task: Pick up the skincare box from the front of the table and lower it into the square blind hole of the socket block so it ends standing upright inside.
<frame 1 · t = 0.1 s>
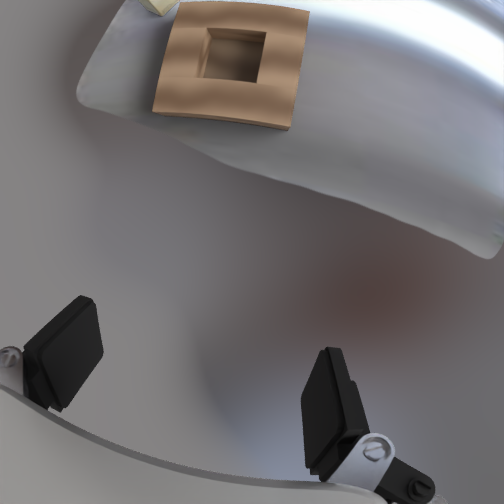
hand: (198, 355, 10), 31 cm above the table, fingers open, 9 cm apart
skincare box: (167, 1, 28), on the table
socket block: (235, 64, 32), on the table
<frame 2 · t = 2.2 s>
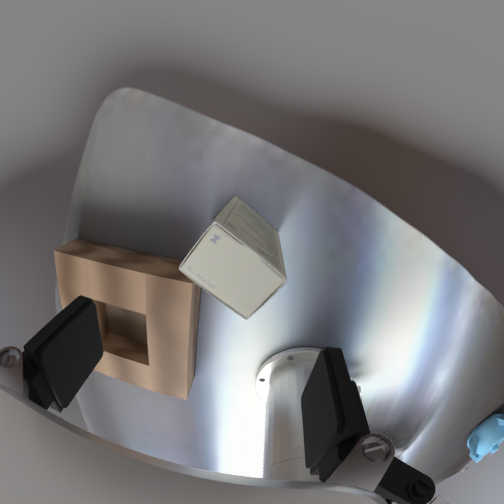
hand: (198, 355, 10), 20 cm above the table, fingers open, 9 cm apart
skincare box: (246, 227, 29), on the table
socket block: (134, 312, 34), on the table
teapot: (483, 425, 43), on the table
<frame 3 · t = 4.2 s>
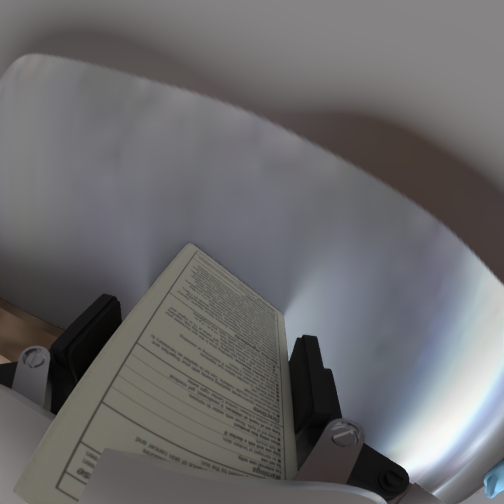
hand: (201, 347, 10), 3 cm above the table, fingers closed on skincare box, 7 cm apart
skincare box: (217, 305, 14), on the table, touching gripper
socket block: (71, 396, 19), on the table
teapot: (502, 461, 28), on the table
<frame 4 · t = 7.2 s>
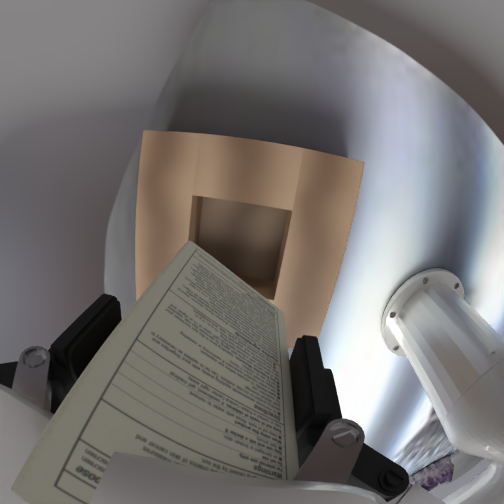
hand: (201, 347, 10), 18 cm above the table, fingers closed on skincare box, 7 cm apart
skincare box: (217, 303, 14), point 14 cm above the table, touching gripper
socket block: (241, 233, 27), on the table
geode: (421, 471, 48), on the table
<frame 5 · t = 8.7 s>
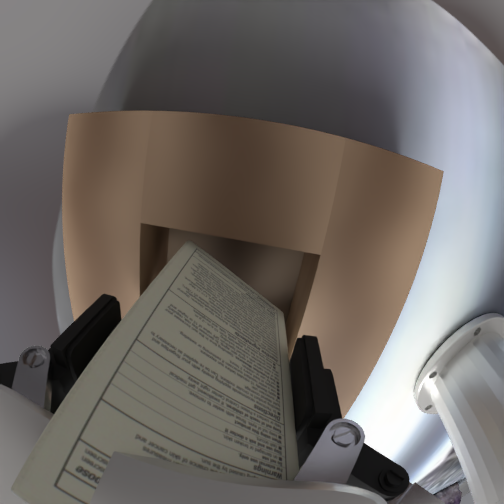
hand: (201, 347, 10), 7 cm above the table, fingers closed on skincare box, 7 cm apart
skincare box: (217, 303, 14), point 4 cm above the table, touching gripper
socket block: (231, 275, 18), on the table
geode: (428, 498, 38), on the table
when the fingers open (6 cm above the table, at t = 10.2 s): skincare box drops 2 cm, resting on socket block.
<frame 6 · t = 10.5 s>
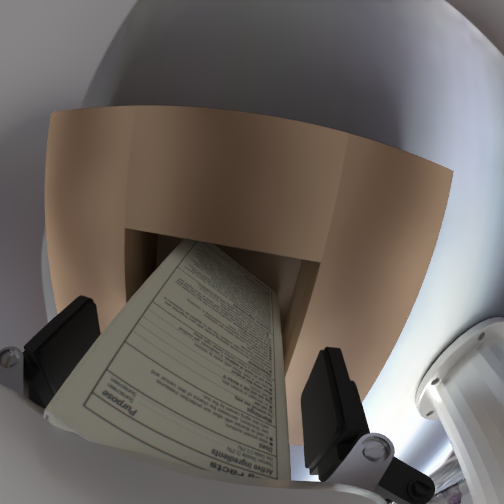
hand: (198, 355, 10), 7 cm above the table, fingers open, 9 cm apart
skincare box: (218, 286, 16), point 1 cm above the table, touching socket block
socket block: (224, 281, 16), on the table
geode: (428, 499, 37), on the table
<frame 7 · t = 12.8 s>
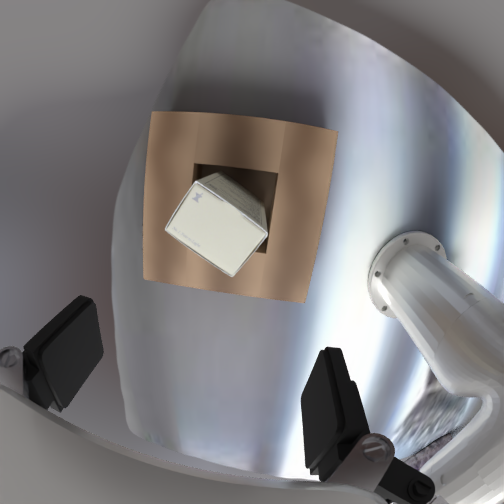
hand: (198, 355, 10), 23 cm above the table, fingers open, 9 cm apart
skincare box: (233, 201, 30), point 1 cm above the table, touching socket block
socket block: (235, 200, 31), on the table
geode: (424, 451, 52), on the table
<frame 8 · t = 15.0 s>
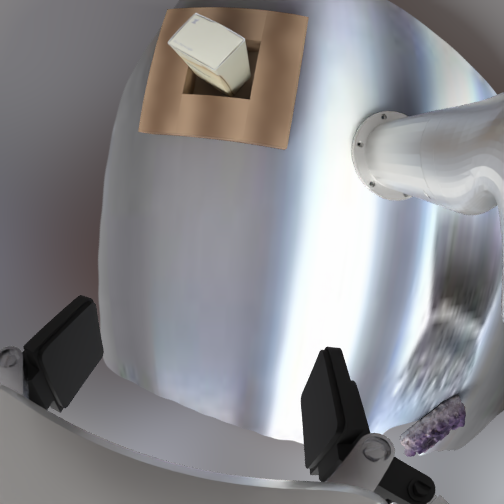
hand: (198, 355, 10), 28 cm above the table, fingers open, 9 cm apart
skincare box: (225, 75, 30), point 1 cm above the table, touching socket block
socket block: (227, 76, 31), on the table
geode: (429, 417, 51), on the table
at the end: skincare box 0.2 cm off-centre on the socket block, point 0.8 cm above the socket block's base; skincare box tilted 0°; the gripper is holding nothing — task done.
